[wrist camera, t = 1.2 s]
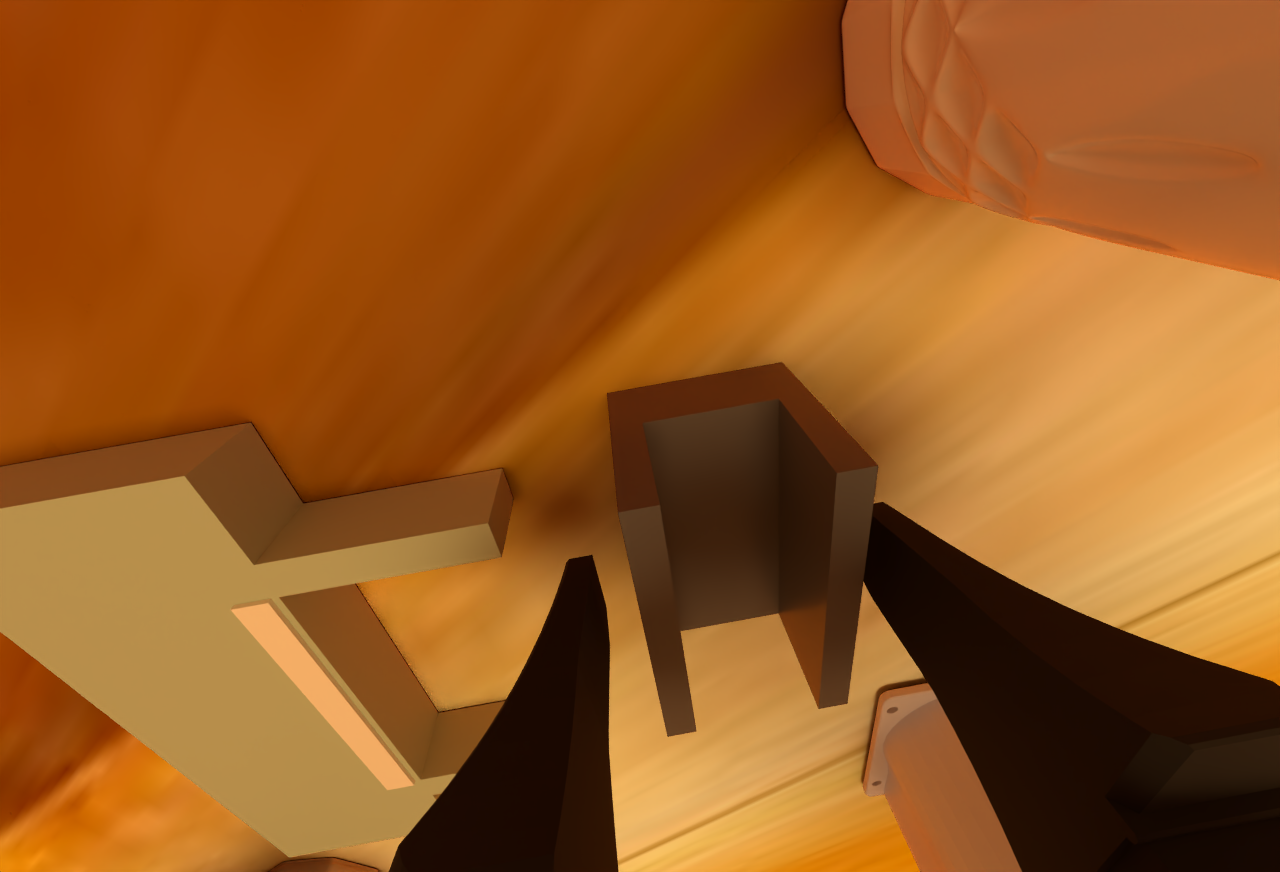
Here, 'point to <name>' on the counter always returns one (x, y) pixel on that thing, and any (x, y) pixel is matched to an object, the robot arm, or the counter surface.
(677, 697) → the chute
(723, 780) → the counter surface
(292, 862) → the ceramic cup
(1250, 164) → the white cup
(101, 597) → the tan bracket
